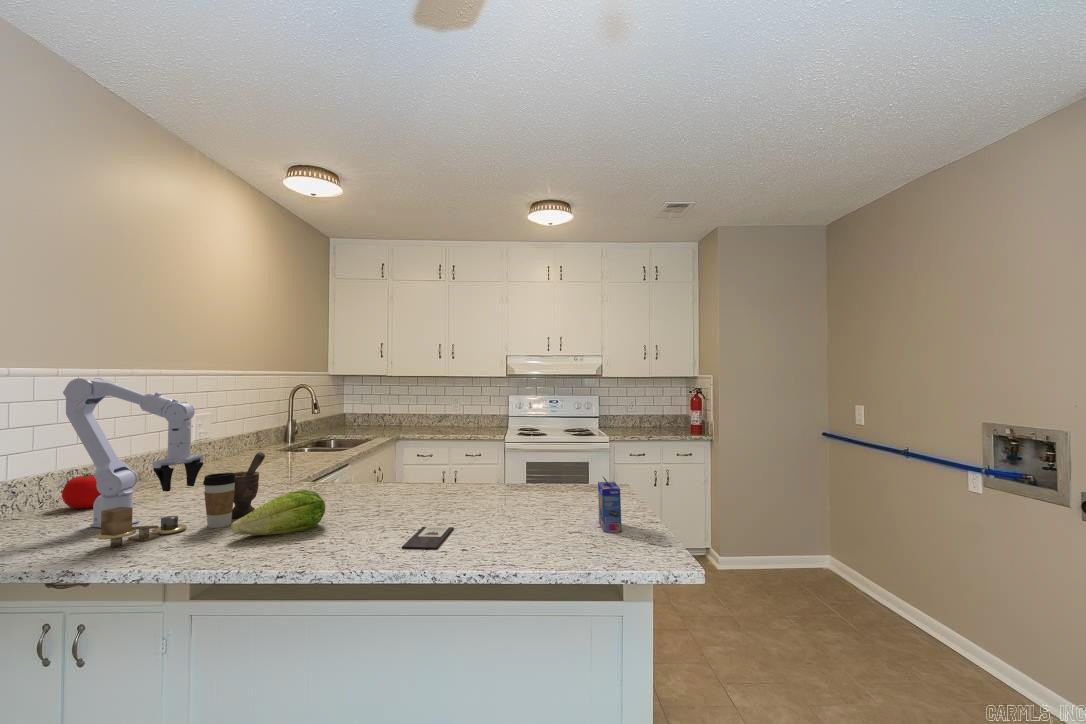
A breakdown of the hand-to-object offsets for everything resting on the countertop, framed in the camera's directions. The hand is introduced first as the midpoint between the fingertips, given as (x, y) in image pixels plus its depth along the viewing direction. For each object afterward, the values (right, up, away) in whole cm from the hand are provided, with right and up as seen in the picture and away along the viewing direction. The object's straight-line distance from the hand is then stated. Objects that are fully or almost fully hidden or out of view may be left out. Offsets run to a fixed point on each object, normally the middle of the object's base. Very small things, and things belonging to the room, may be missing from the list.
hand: (178, 488), depth 161 cm
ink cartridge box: (+128, -10, -6) cm, 129 cm away
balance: (+2, -10, -17) cm, 19 cm away
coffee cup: (+15, -10, -4) cm, 18 cm away
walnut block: (0, -6, -23) cm, 24 cm away
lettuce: (+35, -10, -11) cm, 38 cm away
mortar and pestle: (+17, -10, +7) cm, 21 cm away
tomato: (-43, -11, +18) cm, 47 cm away
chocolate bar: (+79, -10, -17) cm, 81 cm away
